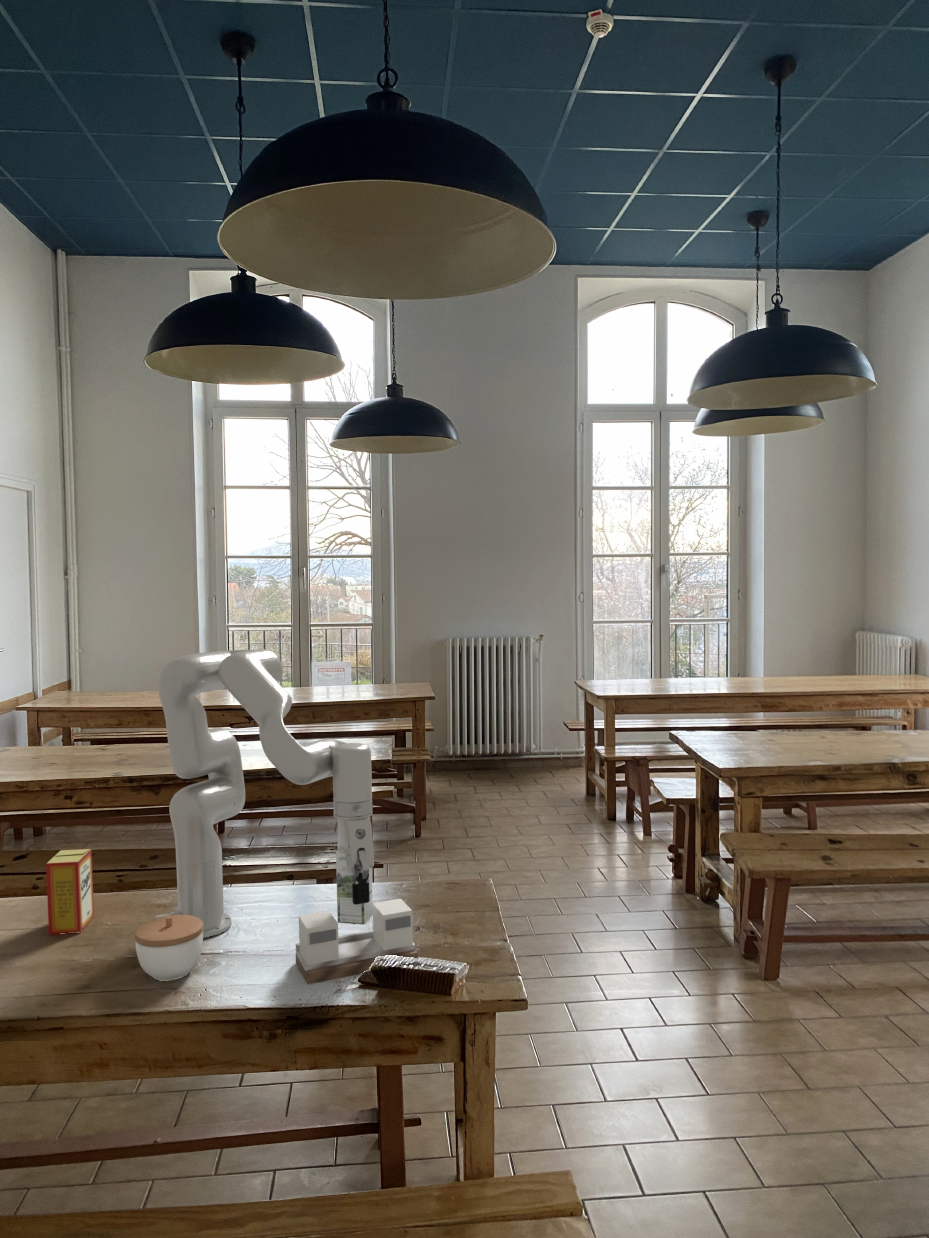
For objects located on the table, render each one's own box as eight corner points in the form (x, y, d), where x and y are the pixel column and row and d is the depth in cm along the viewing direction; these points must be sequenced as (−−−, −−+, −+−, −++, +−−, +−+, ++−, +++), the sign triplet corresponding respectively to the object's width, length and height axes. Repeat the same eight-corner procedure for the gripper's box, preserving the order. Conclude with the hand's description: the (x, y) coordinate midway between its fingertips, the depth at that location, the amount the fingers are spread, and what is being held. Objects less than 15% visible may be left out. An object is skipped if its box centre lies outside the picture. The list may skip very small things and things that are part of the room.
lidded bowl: (135, 965, 174) (133, 910, 174) (202, 954, 179) (200, 901, 178) (136, 993, 163) (134, 934, 162) (207, 981, 167) (205, 923, 167)
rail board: (307, 984, 165) (306, 963, 165) (295, 962, 174) (295, 943, 174) (418, 962, 174) (417, 942, 173) (401, 942, 183) (401, 924, 183)
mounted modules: (308, 965, 166) (307, 929, 166) (299, 950, 173) (298, 915, 173) (413, 945, 174) (412, 910, 174) (401, 931, 181) (400, 898, 181)
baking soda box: (80, 933, 191) (77, 860, 190) (49, 935, 190) (45, 861, 189) (94, 916, 200) (91, 846, 199) (64, 918, 199) (61, 848, 199)
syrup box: (373, 914, 176) (372, 842, 175) (364, 925, 170) (363, 851, 169) (346, 912, 177) (345, 841, 176) (336, 923, 171) (334, 850, 170)
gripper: (385, 816, 166) (387, 907, 167) (359, 795, 182) (360, 878, 183) (346, 821, 163) (348, 914, 164) (323, 799, 179) (325, 884, 180)
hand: (354, 895), depth 173 cm, fingers closed on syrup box, 7 cm apart
